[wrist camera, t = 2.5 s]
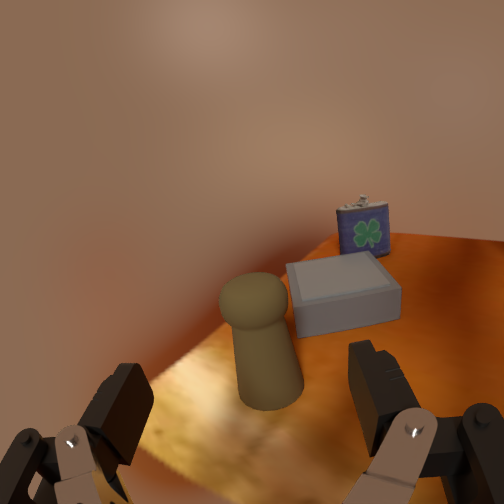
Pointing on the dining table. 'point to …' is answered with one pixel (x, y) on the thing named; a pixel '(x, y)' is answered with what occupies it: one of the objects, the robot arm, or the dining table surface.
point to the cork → (261, 341)
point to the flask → (364, 228)
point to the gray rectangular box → (341, 293)
